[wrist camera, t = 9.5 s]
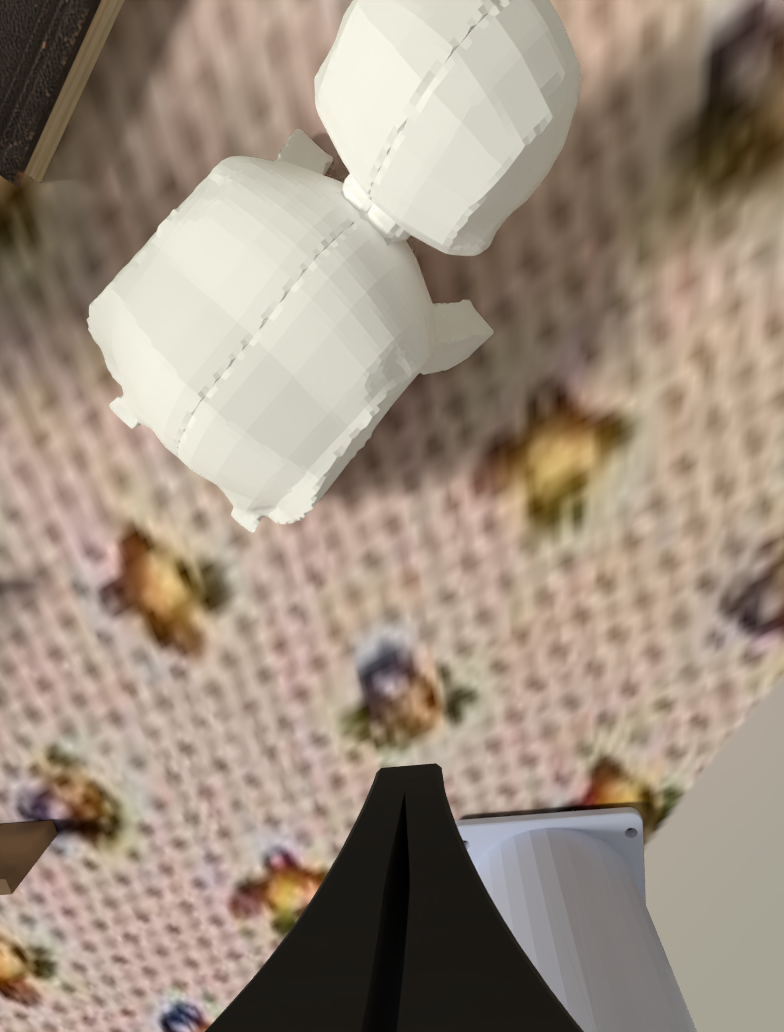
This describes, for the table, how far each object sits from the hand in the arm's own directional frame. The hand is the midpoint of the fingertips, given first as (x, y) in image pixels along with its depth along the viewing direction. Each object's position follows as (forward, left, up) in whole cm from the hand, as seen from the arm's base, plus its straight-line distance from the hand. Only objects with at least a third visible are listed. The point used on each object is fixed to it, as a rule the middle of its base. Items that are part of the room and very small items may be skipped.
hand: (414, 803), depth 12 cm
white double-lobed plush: (+11, +1, -10) cm, 15 cm away
